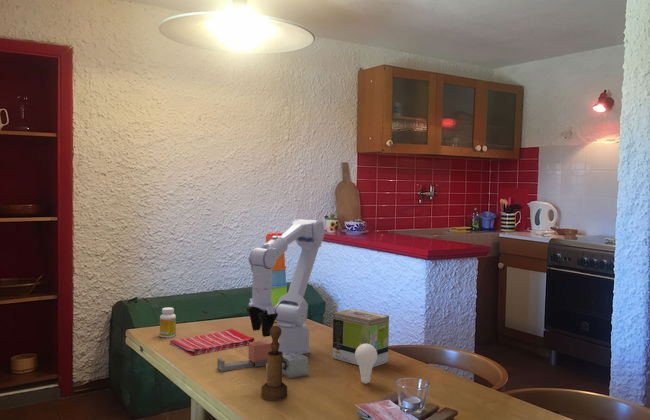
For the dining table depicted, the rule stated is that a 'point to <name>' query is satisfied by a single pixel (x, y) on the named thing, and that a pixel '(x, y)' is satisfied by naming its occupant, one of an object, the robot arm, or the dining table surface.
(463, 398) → the dining table surface
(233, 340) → the dish towel
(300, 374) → the grey block with hole
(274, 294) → the stacking cups
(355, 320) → the tea box
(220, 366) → the rail
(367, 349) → the lightbulb
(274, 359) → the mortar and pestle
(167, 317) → the supplement bottle
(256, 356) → the block
